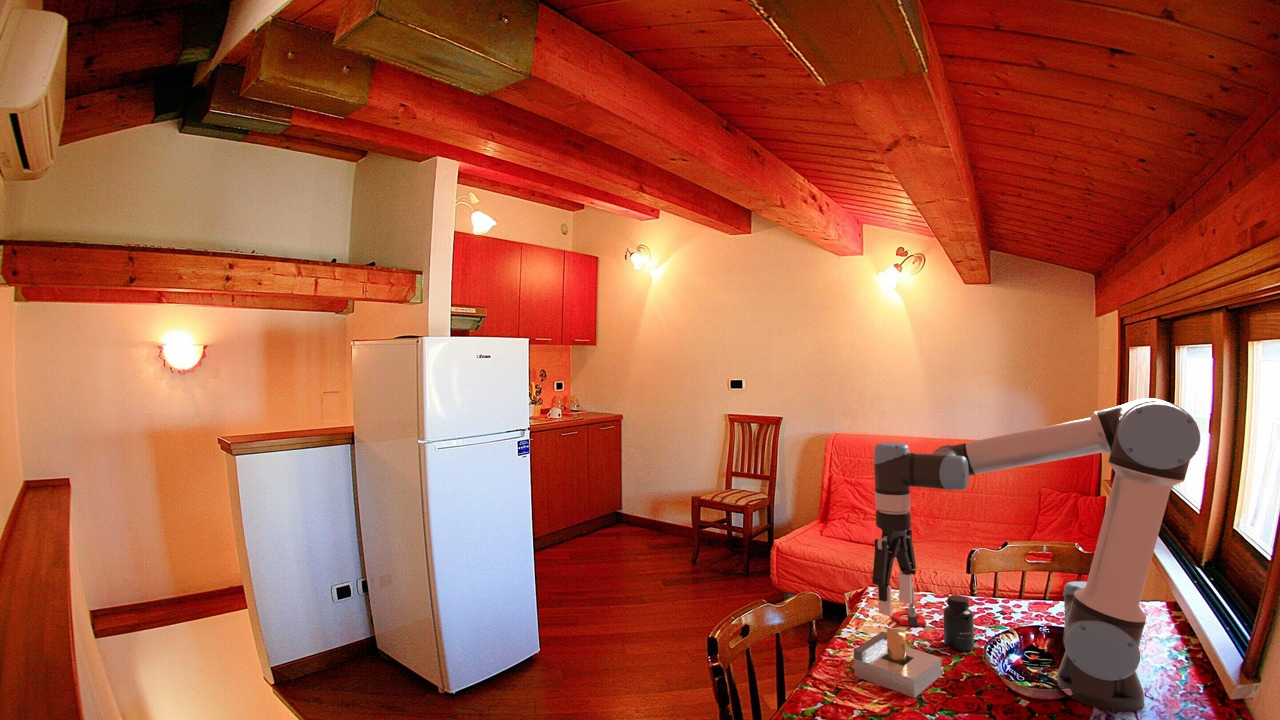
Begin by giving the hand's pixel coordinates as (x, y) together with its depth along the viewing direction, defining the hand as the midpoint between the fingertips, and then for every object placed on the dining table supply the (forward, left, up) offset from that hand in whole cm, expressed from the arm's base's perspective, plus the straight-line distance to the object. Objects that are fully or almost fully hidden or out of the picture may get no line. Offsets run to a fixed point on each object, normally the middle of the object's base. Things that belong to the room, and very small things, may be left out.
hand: (895, 607), depth 148 cm
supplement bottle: (-4, -25, -16) cm, 30 cm away
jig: (0, 0, -16) cm, 16 cm away
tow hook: (+12, -32, -16) cm, 38 cm away
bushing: (0, 0, -16) cm, 16 cm away
